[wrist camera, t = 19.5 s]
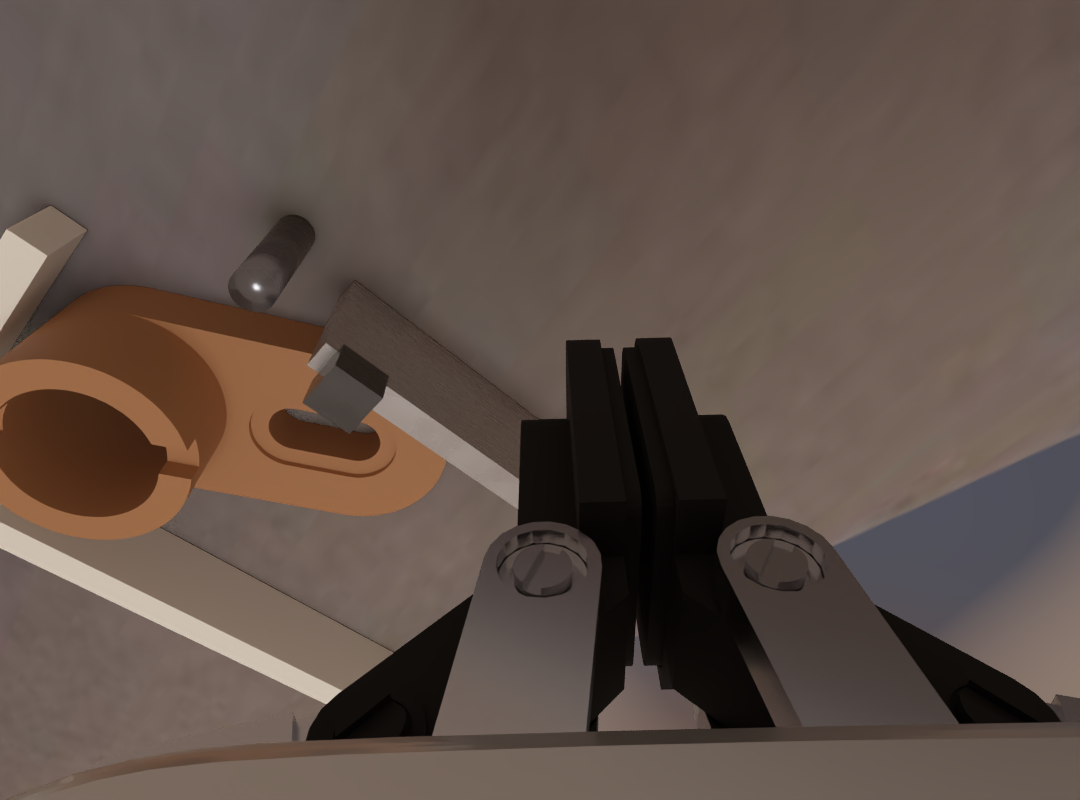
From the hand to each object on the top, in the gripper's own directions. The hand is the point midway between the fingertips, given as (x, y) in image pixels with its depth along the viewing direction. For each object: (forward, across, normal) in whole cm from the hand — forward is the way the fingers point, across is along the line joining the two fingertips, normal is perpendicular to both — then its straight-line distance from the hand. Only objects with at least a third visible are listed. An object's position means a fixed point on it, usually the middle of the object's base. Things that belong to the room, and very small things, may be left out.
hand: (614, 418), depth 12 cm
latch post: (+19, +11, +3) cm, 22 cm away
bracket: (+19, +15, +11) cm, 26 cm away
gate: (+19, +3, +12) cm, 23 cm away
